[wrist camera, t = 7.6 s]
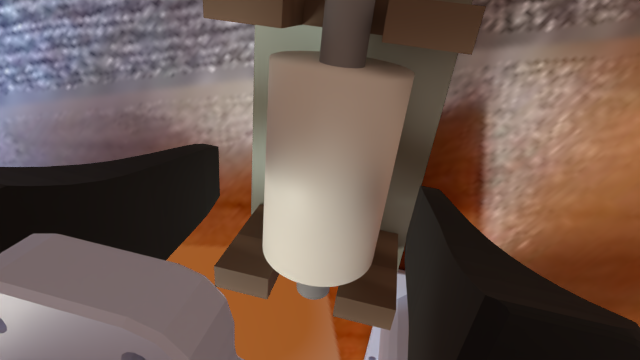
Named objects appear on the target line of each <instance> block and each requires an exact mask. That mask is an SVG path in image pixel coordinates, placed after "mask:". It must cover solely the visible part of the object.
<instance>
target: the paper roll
mask: <svg viewBox="0 0 640 360" xmlns="http://www.w3.org/2000/svg"><path fill="white" fill-rule="evenodd" d="M374 6H375V0H325V7H324V17H323V27H322V37H321V47H320V51H283V52H277V53H273V54H271V55H270V56H269V79H268V107H267V134H266V162H265V189H264V217H263V245H262V247H263V253H264V256H265V258H266V260H267V262H268V263H269V264H270V266H271V267H272V268H273V269H274V270H275V271H277V272H278V273H279V274H281V275H282V276H284V277H286V278H288V279H290V280H292V281H295V282H297V290H298V292H299V293H300V294H301V295H302V296H303V297H305V298H308V299H321V298H323V297H325V296H326V295H327V294H328V292H329V288H330V287H332V286H339V285H344V284H347V283H350V282H352V281H355V280H357V279H358V278H360V277H361V276H363V275H364V274H365V273H366V272H367V271H368V269H369V268H370V266H371V264H372V261H373V257H374V252H375V248H376V244H377V239H378V235H379V230H380V226H381V221H382V217H383V213H384V208H385V204H386V199H387V195H388V190H389V186H390V182H391V177H392V173H393V168H394V164H395V160H396V155H397V151H398V146H399V142H400V137H401V133H402V129H403V124H404V120H405V115H406V111H407V106H408V102H409V98H410V93H411V89H412V84H413V80H414V76H415V74H414V72H413V71H412V70H410V69H408V68H406V67H403V66H401V65H398V64H394V63H391V62H387V61H383V60H378V59H374V58H369V57H367V50H368V44H369V38H370V31H371V25H372V19H373V13H374Z"/></svg>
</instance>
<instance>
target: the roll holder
mask: <svg viewBox="0 0 640 360" xmlns="http://www.w3.org/2000/svg"><path fill="white" fill-rule="evenodd" d="M472 1H473V0H375V6H374V13H373V19H372V25H371V31H370V38H369V44H368V50H367V57H369V58H374V59H378V60H383V61H387V62H391V63H394V64H398V65H401V66H403V67H406V68H408V69H410V70H412V71H413V72H414V74H415V76H414V80H413V84H412V89H411V93H410V98H409V102H408V106H407V111H406V115H405V120H404V124H403V129H402V133H401V137H400V142H399V146H398V151H397V155H396V160H395V164H394V168H393V173H392V177H391V182H390V186H389V190H388V195H387V199H386V204H385V208H384V213H383V217H382V221H381V226H380V230H379V235H378V239H377V244H376V248H375V252H374V257H373V261H372V264H371V266H370V268H369V269H368V271H367V272H366V273H365V274H364V275H363V276H361V277H360V278H358V279H357V280H355V281H352V282H350V283H347V284H344V285H339V287H338V291H337V295H336V301H335V306H334V312H333V316H335V317H339V318H343V319H347V320H351V321H355V322H359V323H363V324H367V325H370V326H374V327H378V328H382V329H386V330H391V326H392V323H393V320H394V316H395V313H396V297H397V272H398V268H399V264H400V261H401V257H402V254H403V250H404V246H405V243H406V235H407V231H408V228H409V224H410V220H411V217H412V213H413V210H414V206H415V202H416V199H417V195H418V191H419V188H420V186H421V185H422V181H423V178H424V174H425V171H426V167H427V163H428V160H429V156H430V153H431V149H432V145H433V142H434V138H435V135H436V131H437V127H438V124H439V120H440V117H441V113H442V109H443V106H444V102H445V99H446V95H447V91H448V88H449V84H450V81H451V77H452V73H453V70H454V66H455V63H456V59H457V55H458V53H463V54H471V55H472V52H473V48H474V45H475V42H476V38H477V35H478V32H479V28H480V25H481V21H482V18H483V15H484V11H485V8H486V6H478V5H472ZM324 7H325V0H203V13H204V18H209V19H216V20H223V21H231V22H238V23H245V24H252V25H255V47H254V99H253V150H252V202H251V217H250V218H249V220H248V221H247V222H246V224H245V225H244V226H243V228H242V229H241V230H240V232H239V233H238V235H237V236H236V237H235V239H234V240H233V241H232V243H231V244H230V245H229V247H228V248H227V250H226V251H225V252H224V254H223V255H222V256H221V258H220V259H219V261H218V262H217V263H216V265H215V266H214V270H215V286H216V287H220V288H224V289H228V290H232V291H236V292H240V293H244V294H248V295H252V296H256V297H260V298H264V299H268V296H269V295H270V292H271V290H272V288H273V286H274V284H275V282H276V280H277V277H278V275H279V273H278V272H277V271H275V270H274V269H273V268H272V267H271V266H270V264H269V263H268V262H267V260H266V258H265V256H264V253H263V247H262V245H263V217H264V189H265V162H266V134H267V107H268V79H269V56H270V55H271V54H273V53H277V52H283V51H320V47H321V37H322V27H323V17H324Z"/></svg>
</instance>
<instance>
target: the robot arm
mask: <svg viewBox="0 0 640 360" xmlns="http://www.w3.org/2000/svg"><path fill="white" fill-rule="evenodd" d="M219 196H220V188H219V151H218V147H217V146H212V145H207V144H193V145H187V146H182V147H177V148H173V149H168V150H164V151H159V152H155V153H150V154H145V155H140V156H135V157H130V158H125V159H120V160H114V161H107V162H99V163H91V164H82V165H67V166H51V167H0V360H244V359H242V358H240V357H238V356H237V354H236V351H235V345H234V320H233V317H232V314H231V311H230V309H229V305H228V302H227V299H226V298H225V296H224V295H223V294H222V293H221V292H220V291H219V290H218V289H217V288H216V287H215V286H214V285H213V284H212V283H211V282H210V281H209V279H207V278H206V276H204V275H202V274H200V273H197V272H195V271H193V270H191V269H189V268H187V267H185V266H182V265H180V264H177V263H173V262H169V261H166V260H167V259H168V258H169V256H170V255H171V254H172V253H173V252H174V251H175V250H176V249H177V248H178V247H179V246H180V244H181V243H182V242H183V241H184V240H185V239H186V238H187V237H188V236H189V235H190V234H191V233H192V232H193V230H194V229H195V228H196V227H197V226H198V225H199V224H200V223H201V222H202V220H203V219H204V218H205V217H206V216H207V214H208V213H209V212H210V210H211V209H212V207H213V206H214V204H215V202H216V201H217V199H218V198H219ZM364 360H640V327H639V326H638V325H637V323H636V322H633V321H631V320H629V319H627V318H624V317H622V316H620V315H618V314H616V313H613V312H611V311H609V310H607V309H604V308H602V307H600V306H598V305H595V304H593V303H591V302H589V301H587V300H585V299H583V298H581V297H579V296H577V295H575V294H573V293H571V292H569V291H567V290H565V289H563V288H561V287H560V286H558V285H556V284H554V283H552V282H551V281H549V280H547V279H545V278H544V277H542V276H540V275H539V274H537V273H535V272H534V271H532V270H531V269H529V268H527V267H526V266H524V265H523V264H521V263H520V262H518V261H517V260H515V259H514V258H512V257H511V256H510V255H508V254H507V253H506V252H504V251H503V250H502V249H500V248H499V247H498V246H496V245H495V244H494V243H493V242H491V241H490V240H489V239H488V238H487V237H486V236H484V235H483V234H482V233H481V232H480V231H479V230H478V229H477V228H476V227H475V226H474V225H472V224H471V223H470V222H469V221H468V220H467V219H466V218H465V217H464V215H463V214H462V213H461V212H460V211H459V210H458V209H457V208H456V207H455V206H454V205H453V204H452V203H451V201H450V200H449V199H448V198H447V197H446V196H445V195H444V194H443V193H442V192H441V191H440V190H439V189H434V188H429V187H424V186H420V188H419V191H418V195H417V199H416V202H415V206H414V210H413V213H412V217H411V220H410V224H409V228H408V231H407V235H406V246H405V271H404V270H400V269H398V272H397V297H396V313H395V316H394V320H393V323H392V326H391V330H386V329H382V328H378V327H374V326H373V327H372V330H371V334H370V338H369V342H368V346H367V350H366V354H365V357H364Z"/></svg>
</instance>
